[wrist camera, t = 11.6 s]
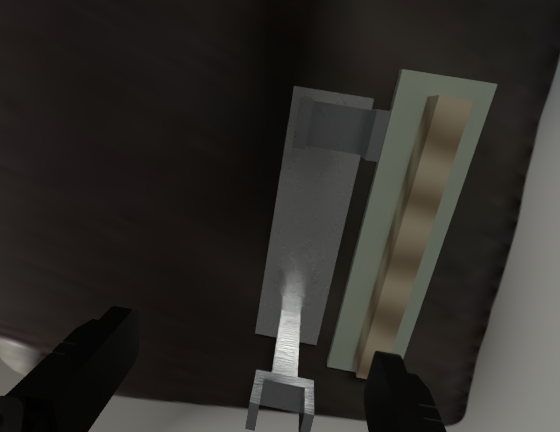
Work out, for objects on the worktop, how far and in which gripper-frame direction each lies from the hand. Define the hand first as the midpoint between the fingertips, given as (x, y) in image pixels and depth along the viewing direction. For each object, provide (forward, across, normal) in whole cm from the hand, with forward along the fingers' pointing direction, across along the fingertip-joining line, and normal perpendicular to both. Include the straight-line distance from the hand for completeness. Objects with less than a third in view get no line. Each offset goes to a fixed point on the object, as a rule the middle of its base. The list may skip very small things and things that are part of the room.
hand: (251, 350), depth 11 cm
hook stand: (+26, -2, +6) cm, 27 cm away
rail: (+26, -13, +6) cm, 29 cm away
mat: (+26, -13, +6) cm, 30 cm away
